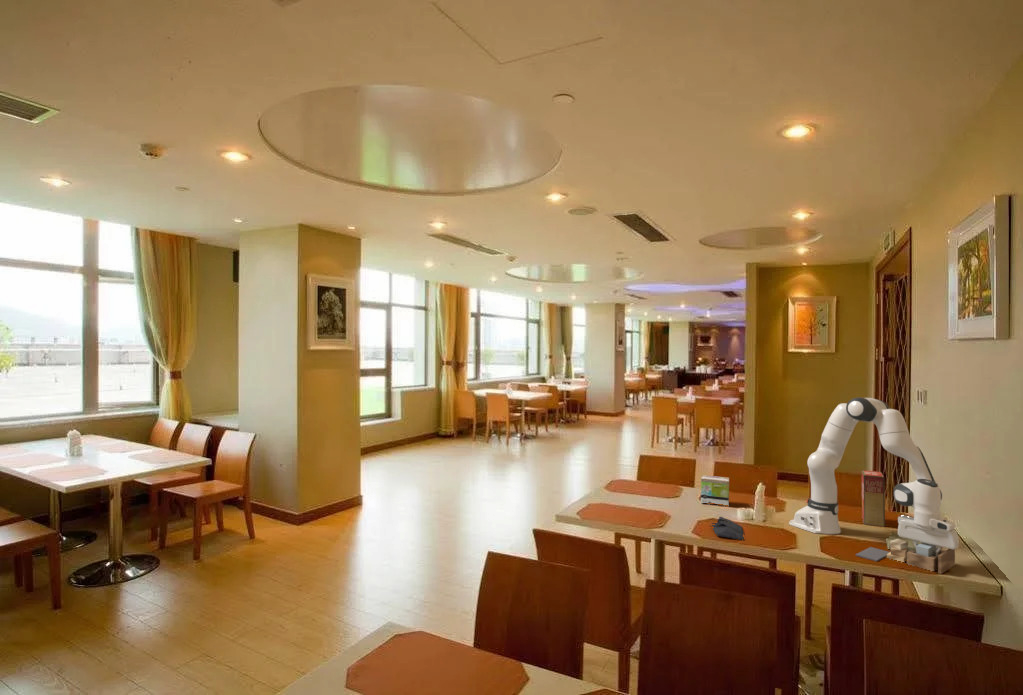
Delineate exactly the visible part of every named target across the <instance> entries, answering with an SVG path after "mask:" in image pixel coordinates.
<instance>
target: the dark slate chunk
mask: <svg viewBox="0 0 1023 695" xmlns="http://www.w3.org/2000/svg"><path fill="white" fill-rule="evenodd" d="M710 523H711V524H715V525H712V526H713V527H714V528H713V529H712V531H713V530H714V531H713V532H714V533H715V535H716V536H717V537H719V536H721V537H720V538H725V537H726V539H730V538H732V539H731V540H735V539H739V540H738V541H743V540H742V539H744V537H743V534H744V535H745V532H744V528H743V526H741V525H740V524H737V523H736V522H734V521H733V520H731V519H728V518H726V517H723V516H719V517H718V519H717V522H710ZM742 528H743V529H742ZM743 532H744V533H743Z"/></svg>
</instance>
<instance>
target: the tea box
mask: <svg viewBox="0 0 1023 695" xmlns="http://www.w3.org/2000/svg"><path fill="white" fill-rule="evenodd" d="M729 502H730V477H725V476H715V475H706V474H702V475H701V478H700V504H701V503H715V504H723V505H728V506H729V505H730V504H729Z"/></svg>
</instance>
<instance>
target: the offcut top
mask: <svg viewBox="0 0 1023 695" xmlns="http://www.w3.org/2000/svg"><path fill="white" fill-rule="evenodd" d="M890 547H892V548H895V549H899V550H902V549H905V548H908V542H907V541H904V540H900V539H895V540H892V541H890Z"/></svg>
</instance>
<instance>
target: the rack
mask: <svg viewBox="0 0 1023 695" xmlns="http://www.w3.org/2000/svg"><path fill="white" fill-rule="evenodd" d="M907 564H908V566H910V565H912V566H911V567H914V566H917V567H919V568H918V569H921V568H923V569H922V570H925V569H927V570H926V571H928V570H930V571H929V572H932V571H934V572H935V570H936V569H937V570H936V571H937V574H940V575H942V574H944V573H945V572H947V571H948V570H950V569H951V568H952V567H954V566H955V565H956V549H955V550H953V549H949V548H947V549H943V548H942V549H941V550H940V551H939V555H938V557H936V556H932V557H927V556H923V555H920V554H916V553H915V551H913V550H910V551H908V552H907V561H906V565H907ZM917 567H916V568H917Z"/></svg>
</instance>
